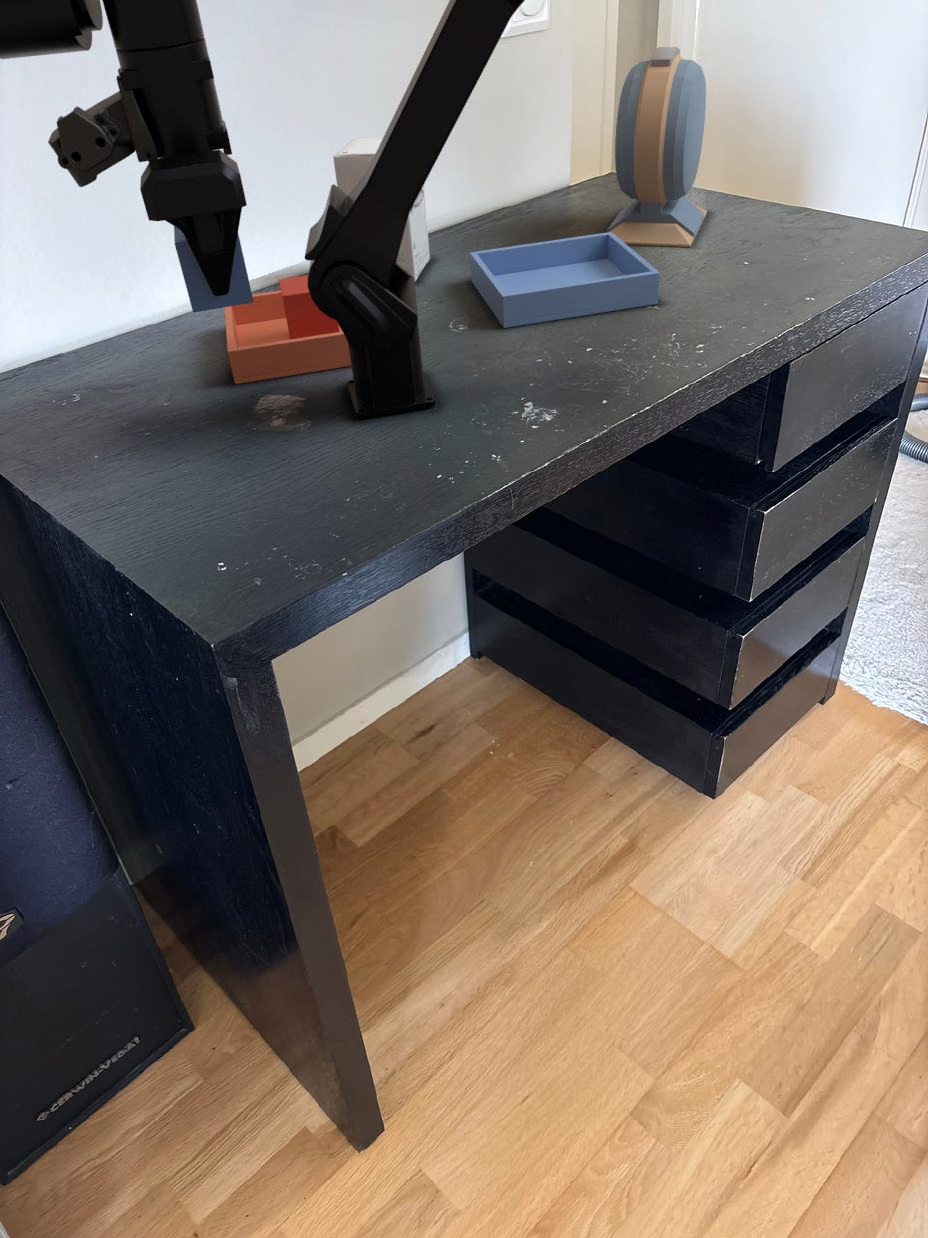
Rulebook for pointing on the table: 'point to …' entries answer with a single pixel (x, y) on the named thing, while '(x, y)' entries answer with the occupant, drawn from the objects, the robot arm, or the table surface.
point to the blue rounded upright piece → (660, 150)
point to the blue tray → (563, 279)
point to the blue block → (198, 285)
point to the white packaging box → (415, 238)
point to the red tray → (276, 343)
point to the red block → (303, 310)
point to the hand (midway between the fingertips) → (219, 283)
